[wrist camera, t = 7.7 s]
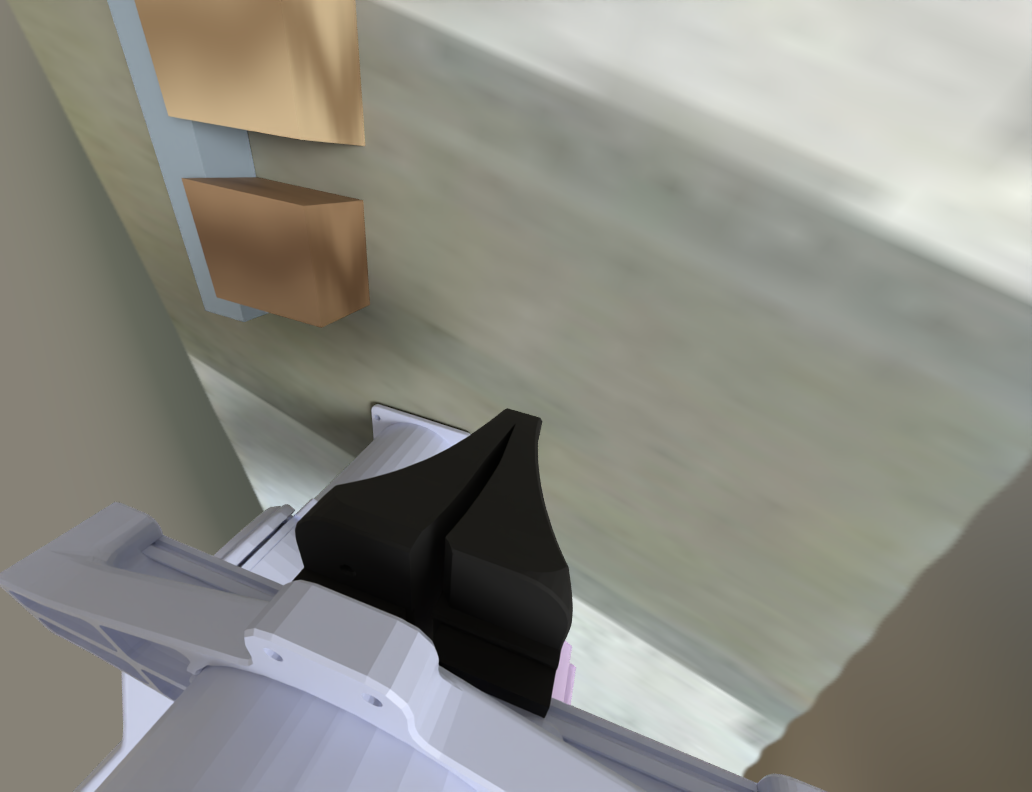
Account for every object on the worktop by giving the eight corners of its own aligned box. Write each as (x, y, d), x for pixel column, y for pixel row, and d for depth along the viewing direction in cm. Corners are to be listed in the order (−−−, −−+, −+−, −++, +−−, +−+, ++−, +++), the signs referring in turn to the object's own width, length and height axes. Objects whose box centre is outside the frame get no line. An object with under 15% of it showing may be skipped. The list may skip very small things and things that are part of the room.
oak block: (367, 146, 19) (300, 139, 16) (254, 126, 21) (168, 116, 17) (356, -21, 16) (268, -79, 12) (223, -32, 17) (108, -88, 14)
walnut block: (371, 303, 24) (321, 327, 20) (279, 279, 25) (216, 297, 21) (364, 200, 21) (303, 206, 17) (259, 177, 22) (181, 178, 18)
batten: (282, 307, 26) (244, 322, 24) (246, 297, 27) (205, 310, 24) (203, -87, 16) (124, -133, 14) (149, -91, 17) (63, -137, 14)
